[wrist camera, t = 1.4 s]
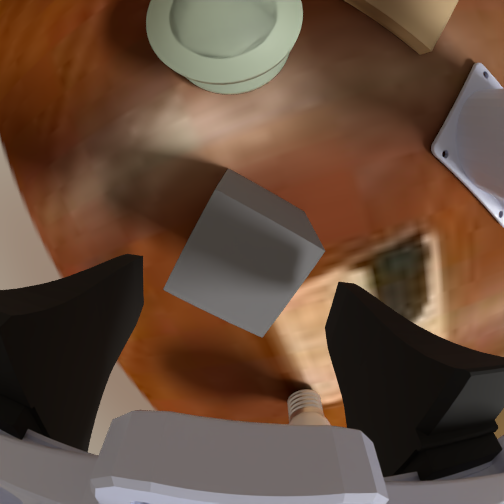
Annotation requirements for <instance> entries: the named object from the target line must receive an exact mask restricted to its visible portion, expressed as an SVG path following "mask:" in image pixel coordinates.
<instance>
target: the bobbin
mask: <svg viewBox="0 0 504 504" xmlns="http://www.w3.org/2000/svg"><path fill="white" fill-rule="evenodd" d="M302 21H303V9H302V3H301V0H151V2H150V4H149V8H148V11H147V17H146V30H147V36H148V39H149V42H150V45H151V46H152V48H153V50H154V52H155V53H156V55H157V56H158V57H159V58H160V59H161V60H162V61H163V62H164V63H165V64H166V65H167V66H168V67H170V68H171V69H173V70H174V71H176V72H177V73H179V74H181V75H182V76H184V77H186V78H187V79H188V80H189V81H191V82H192V83H193V84H195V85H196V86H198V87H200V88H202V89H204V90H207V91H209V92H213V93H217V94H224V95H234V94H242V93H247V92H250V91H253V90H256V89H258V88H260V87H262V86H264V85H265V84H267V83H268V82H269V81H271V80H272V79H273V78H274V77H275V76H276V75H277V74H278V73H279V72H280V70H281V69H282V68H283V66H284V64H285V62H286V60H287V58H288V56H289V53H290V51H291V49H292V47H293V46H294V44H295V42H296V40H297V38H298V35H299V33H300V30H301V26H302Z"/></svg>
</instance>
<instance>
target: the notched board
mask: <svg viewBox="0 0 504 504" xmlns="http://www.w3.org/2000/svg"><path fill="white" fill-rule="evenodd" d="M344 1H345V2H347V3H349V4H350V5H352V6H354V7H355V8H357V9H358V10H360V11H361V12H363V13H364V14H366V15H367V16H369V17H370V18H372V19H373V20H375V21H376V22H378V23H379V24H381V25H382V26H383V27H385V28H386V29H388V30H389V31H390V32H392V33H393V34H394V35H396V36H397V37H398V38H400V39H401V40H402V41H403V42H405V43H406V44H407V45H408V46H410V47H411V48H412V49H413V50H415V51H416V52H417V53H418V54H419V55H421V54H424V53H427V52H430V51H432V50H433V48H434V46H435V44H436V42H437V40H438V39H439V37H440V35H441V33H442V31H443V29H444V27H445V25H446V24H447V22H448V20H449V18H450V16H451V14H452V12H453V10H454V8H455V6H456V4H457V2H458V0H344Z"/></svg>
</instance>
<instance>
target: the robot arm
mask: <svg viewBox="0 0 504 504" xmlns="http://www.w3.org/2000/svg"><path fill="white" fill-rule="evenodd" d="M483 72H484V74H485V77H484V75H483ZM431 151H432V153H433V155H434V156H435V157H436V158H438V159H439V160H440V161H441V162H442V163H443V164H444V165H445V166H446V167H447V168H448V169H449V170H450V171H451V172H452V173H453V174H454V175H455V176H456V177H457V178H458V179H459V180H460V181H461V182H462V183H463V184H464V185H465V186H466V187H467V188H468V189H469V190H470V191H471V192H472V193H473V194H474V195H475V196H476V198H477V199H478V200H479V201H480V202H481V203H482V204H483V205H484V206H485V207H486V209H487V210H488V211H489V212H490V213H491V214H492V215H493V217H494V218H495V219H496V220H497V221H498V223H499V224H500V225H501V226H502V227H504V89H503V87H502V86H501V85H500V84H499V83H498V81H497V80H496V79H495V78H494V77H493V76H492V74H491V73H490V72H489V71H488V70H487V69H486V68H485V66H484V65H483V64H481V63H475V64H474V65H473V67H472V69H471V71H470V74H469V76H468V78H467V80H466V82H465V84H464V86H463V88H462V90H461V92H460V94H459V96H458V98H457V99H456V101H455V103H454V105H453V107H452V109H451V111H450V113H449V115H448V117H447V118H446V120H445V122H444V124H443V126H442V127H441V129H440V131H439V133H438V135H437V136H436V138H435V140H434V142H433V143H432V146H431ZM443 151H445V157H443V156H442V153H443ZM499 212H500V215H499ZM143 305H144V298H143V256H138V255H132V254H125V255H122V256H119V257H116V258H113V259H111V260H108V261H106V262H104V263H101V264H99V265H96V266H94V267H92V268H89V269H87V270H84V271H81V272H79V273H76V274H73V275H71V276H68V277H65V278H62V279H59V280H55V281H52V282H48V283H44V284H40V285H34V286H29V287H24V288H18V289H9V290H0V504H504V435H502V436H501V437H500V438H498V439H497V438H496V436H495V434H494V433H493V432H496V430H497V429H498V425H497V424H496V422H495V419H496V417H497V416H498V415H499V413H500V412H501V411H502V409H503V408H504V357H500V356H496V355H491V354H487V353H482V352H479V351H476V350H472V349H469V348H466V347H463V346H460V345H458V344H455V343H453V342H450V341H448V340H446V339H443V338H441V337H439V336H437V335H434V334H432V333H430V332H429V331H427V330H425V329H423V328H421V327H419V326H417V325H416V324H414V323H412V322H411V321H409V320H408V319H406V318H404V317H403V316H401V315H400V314H398V313H397V312H395V311H394V310H392V309H391V308H390V307H388V306H387V305H385V304H384V303H383V302H381V301H380V300H378V299H377V298H376V297H374V296H373V295H371V294H370V293H369V292H367V291H366V290H364V289H363V288H361V287H360V286H358V285H356V284H354V283H345V282H338V286H337V289H336V293H335V296H334V299H333V303H332V306H331V309H330V313H329V316H328V319H327V322H326V326H325V331H326V339H327V345H328V350H329V354H330V357H331V361H332V364H333V367H334V371H335V374H336V377H337V381H338V384H339V388H340V391H341V394H342V399H343V403H344V409H345V416H346V423H347V428H344V427H337V426H331V425H289V424H269V423H255V422H244V421H233V420H224V419H216V418H208V417H201V416H195V415H188V414H182V413H176V412H171V411H148V410H147V411H146V410H135V411H131V412H129V413H127V414H125V415H122V416H120V417H117V418H115V419H113V420H112V422H111V425H110V427H109V430H108V433H107V435H106V438H105V441H104V443H103V446H102V448H101V451H100V454H99V455H94V454H91V453H88V447H89V442H90V438H91V433H92V429H93V426H94V422H95V418H96V414H97V411H98V408H99V404H100V401H101V398H102V395H103V392H104V389H105V386H106V384H107V381H108V378H109V375H110V373H111V371H112V369H113V367H114V365H115V363H116V361H117V359H118V357H119V355H120V354H121V352H122V350H123V348H124V346H125V344H126V343H127V341H128V339H129V337H130V335H131V333H132V331H133V330H134V328H135V326H136V324H137V321H138V318H139V316H140V313H141V310H142V307H143Z"/></svg>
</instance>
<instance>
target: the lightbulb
mask: <svg viewBox="0 0 504 504" xmlns="http://www.w3.org/2000/svg"><path fill="white" fill-rule="evenodd" d="M287 403H288V414H289V425H330V423H329V421H328V420H327V419H326V418H325V417H324V413H323V409H322V404H321V398H320V395H319V394H318V393H317V392H316V391H314V390H309V389H305V390H299V391H297V392H294V393H293V394H292V395H290V397H289V398H288V401H287Z"/></svg>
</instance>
